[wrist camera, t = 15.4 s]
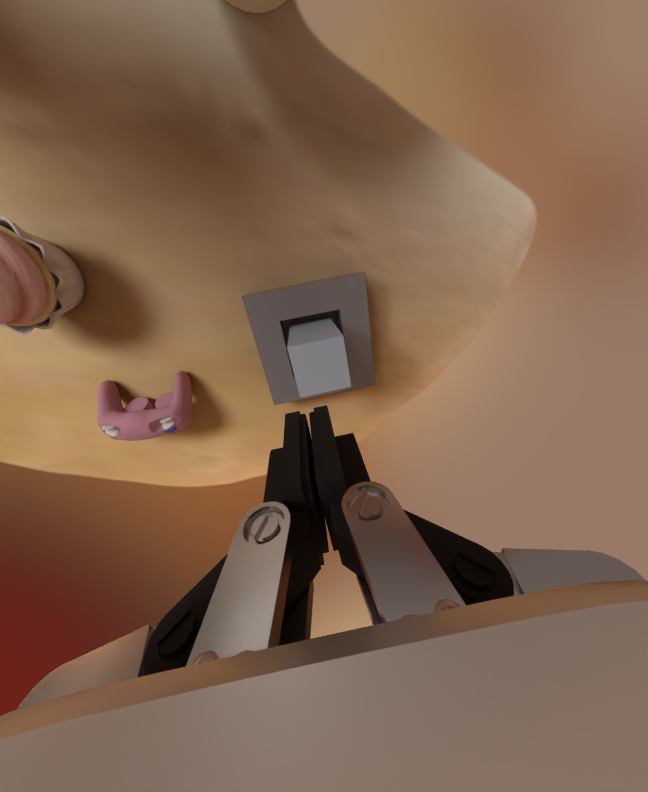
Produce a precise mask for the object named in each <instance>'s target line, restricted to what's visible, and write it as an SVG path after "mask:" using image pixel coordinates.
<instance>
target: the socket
mask: <svg viewBox="0 0 648 792" xmlns="http://www.w3.org/2000/svg"><path fill="white" fill-rule="evenodd" d="M242 297H243V301H244V304H245V308H246V311H247V314H248V318H249V321H250V324H251V328H252V331H253V334H254V338H255V341H256V344H257V348H258V351H259V355H260V358H261V361H262V365H263V368H264V371H265V375H266V378H267V381H268V385H269V388H270V392H271V395H272V398H273V402H274V405H277V404H282V403H287V402H292V401H297V400H302V399H307V398H312V397H317V396H322V395H327V394H332V393H337V392H342V391H347V390H352V389H357V388H362V387H367V386H372V385H375V376H374V365H373V354H372V343H371V332H370V321H369V310H368V299H367V289H366V278H365V272H361V273H354V274H348V275H343V276H338V277H333V278H328V279H323V280H318V281H313V282H307V283H302V284H297V285H292V286H287V287H282V288H277V289H272V290H267V291H261V292H256V293H251V294H247V295H244V296H242ZM327 316H329V317H330V318H331V320H332V321H333V322H334V324H335V325H336V326H337V328H338V329H339V331H340V332H341V333H342V335H343V338H344V344H345V350H346V356H347V363H348V369H349V375H350V382H351V387H348V388H343V389H338V390H334V391H329V392H324V393H320V394H315V395H311V396H306V397H301V398H300V395H299V391H298V387H297V383H296V379H295V376H294V372H293V368H292V364H291V360H290V357H289V353H288V349H287V345H288V338H289V331H290V324H294V323H299V322H304V321H308V320H313V319H318V318H322V317H327Z"/></svg>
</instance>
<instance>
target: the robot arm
mask: <svg viewBox="0 0 648 792" xmlns="http://www.w3.org/2000/svg"><path fill="white" fill-rule="evenodd" d="M309 416H310V426H311V435H310V431H309V427H308V422H307V418H306V415H305V414H300V412H299V411H297V412H293V413H288V414H286V415H285V428H284V443H283V448H278V449H274V450H271V452H270V458H269V465H268V472H267V479H266V487H265V494H264V501H263V503H262V504H260V505H258V506H256V507H254V508H253V509H251V510H250V511H249V512H248V513H247V514H246V515H245V516H244V517H243V518H242V520H241V522H240V524H239V526H238V529H237V531H236V534H235V537H234V539H233V542H232V545H231V547H230V550H229V553H228V554H227V555H226V556H225V557H224V558H223V559H222V560H221V561H220V562H219V563H218V564H217V565H216V566H215V567H214V568H213V569H212V570H211V571H210V572H209V573H208V574H207V575H206V576H205V577H204V578H203V579H202V580H201V581H200V582H199V583H198V584H197V585H196V586H195V587H194V588H193V589H191V590H190V591H189V592H188V593H187V595H185V596H184V598H182V599H181V601H179V602H178V603H177V604H176V605H175V606H174V607H173V608H172V609H171V610H170V611H169V612H168V613H167V614H166V615H165V617H164V618H163V619H162V620H161V621H160V623H159V624H158V625H157V626H156V627H152V626H151V625H150V624H149V625H147V626H145V627H143V628H141V629H139V630H136V631H134V632H132V633H130V634H128V635H126V636H124V637H121V638H119V639H117V640H115V641H113V642H111V643H109V644H106V645H104V646H102V647H100V648H98V649H96V650H94V651H91V652H89V653H87V654H85V655H83V656H81V657H79V658H77V659H74V660H72V661H70V662H68V663H66V664H64V665H62V666H60V667H59V668H57V669H56V670H54V671H52V672H51V673H50V674H48V675H47V676H46V677H45V678H44V679H43V680H42V681H41V682H39V684H38V685H36V686H35V687H34V688H33V690H32V691H31V692H30V693H29V694H28V696H27V697H26V698H25V699H24V701H23V702H22V703H21V704H20V706H19V708H18V709H17V710H15V711H13V712H10V713H8V714H5V715H3V716H0V792H648V581H646V580H645V579H644V578H643V577H642V576H641V575H640V574H639V573H638V572H637V571H635V570H634V569H632V568H631V567H630V566H628V565H627V564H625V563H623V562H622V561H620V560H618V559H616V558H614V557H611V556H609V555H606V554H604V553H599V552H594V551H582V550H545V549H510V548H503V549H502V552H500V553H499V552H491V551H489V550H488V549H486V548H484V547H483V546H481V545H479V544H477V543H475V542H472V541H470V540H468V539H466V538H464V537H462V536H459V535H457V534H455V533H453V532H451V531H449V530H446V529H444V528H442V527H440V526H438V525H436V524H434V523H431V522H429V521H427V520H425V519H423V518H421V517H418V516H416V515H414V514H412V513H410V512H408V511H405V510H403V509H402V507H401V505H400V504H399V502H398V501H397V499H396V498H395V496H394V495H393V493H392V492H391V491H390V490H389V489H388V488H387V487H385V486H384V485H382V484H379V483H376V482H371V481H370V478H369V476H368V473H367V470H366V467H365V464H364V462H363V459H362V456H361V453H360V451H359V448H358V445H357V442H356V439H355V437H354V434H353V433H351V434H346V435H341V436H336V437H334V433H333V428H332V424H331V420H330V416H329V412H328V408H327V405H326V406H322V407H317V408H314V412H310V413H309ZM311 436H312V439H311ZM325 519H326V523H327V527H328V531H329V535H330V538H331V542H332V546H333V549H334V551H336V550H339V554H340V558H341V562H342V564H343V565H344V566H346V567H347V568H348V569H350V570H351V571H353V572H354V573H355V574H356V576H357V580H358V583H359V586H360V589H361V592H362V594H363V598H364V600H365V603H366V606H367V609H368V612H369V615H370V618H371V621H372V623H373V626H368V627H363V628H359V629H354V630H350V631H345V632H340V633H336V634H331V635H327V636H322V637H318V638H313V639H310V635H311V621H312V607H313V592H314V584H313V579H314V578H315V576H316V574H317V573H318V572H319V570H320V569H321V565H324V559H323V553H327V552H329V549H328V540H327V532H326V523H325Z"/></svg>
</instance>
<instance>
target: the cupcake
mask: <svg viewBox="0 0 648 792" xmlns="http://www.w3.org/2000/svg"><path fill="white" fill-rule="evenodd" d="M84 287H85V286H84V281H83V278H82V275H81V273H80V270H79V268H78V267H77V266H76V264H75V263H74V262H73V260H72V259H71V258H70V257H69V256H68V255H67V254H66V253H65V252H64V251H63V250H61V249H60V248H58V247H57V246H55V245H54V244H52V243H50V242H48V241H46V240H43V239H41V238H38V237H36V236H33V235H31V234H29V233H26V232H25V231H23V230H22V229H21V228H20V227H18V226H17V225H16V224H14V223H13V222H12V221H10V220H9V219H8V218H7V217H2V216H0V327H5V326H6V327H8V328H10V329H11V330H13V331H15V332H16V333H18V334H20V335H23V336H25V335H27V334H28V333H29V332H31V331H32V330H33V329H34V328H40V329H49V328H51V327H52V325H53V324H54V323H55V321H56V320H57V318H58V317H60V316H61V315H63V314H64V313H65V312H67V311H69V310H71V309H72V308H74V307H75V306H77V305H78V304H79V303H80V301H81V299H82V297H83V294H84Z"/></svg>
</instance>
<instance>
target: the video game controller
mask: <svg viewBox="0 0 648 792" xmlns="http://www.w3.org/2000/svg"><path fill="white" fill-rule="evenodd" d="M155 407H156V409H152V403H151V402H150V401H149V400H148V399H147V398H145V397H138V398H136V399H134V400H132V401H131V402H130V403H129V404H128V405H127V406H126V407H125V408H123V406H122V403H121V398H120V393H119V391H118V388H117V386H116V385H115V383H114V382H112V381H110V380H107V381H104V382H103V383H102V384H101V385H100V387H99V390H98V419H97V420H98V424H99V426H100V428H101V430H102V431H103V432H104V433H105V434H106V435H108V436H109V437H111V438H112V439H116V440H118V439H120V440H128V441H131V440H144V439H150V438H154V437H158V436H161V435H164V434H167V433H169V432H170V433H175V432H179V431H181V430H183V429H184V428H186V427H187V426H188V425H189V424H190V422H191V420H192V412H191V408H192V387H191V382H190V378H189V376H188V374H187V373H185V372H184V371H180V372H179V373H178V374H177V375H176V377H175V380H174V392H173V394H170V393H169V394H164V395H162V396H160V397H159V398H158V399H157V400H156V402H155Z"/></svg>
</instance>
